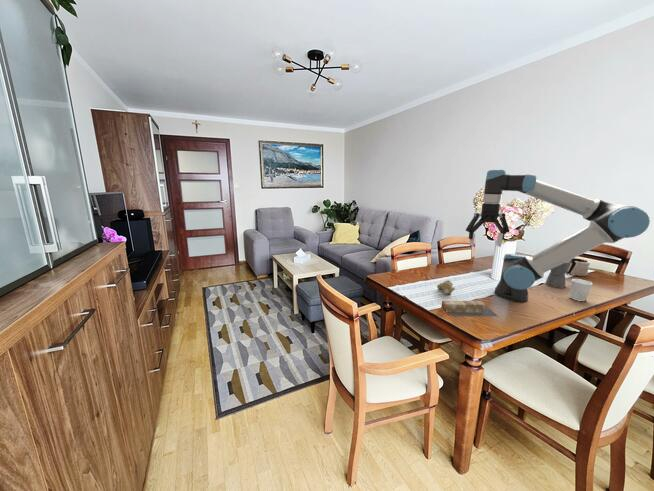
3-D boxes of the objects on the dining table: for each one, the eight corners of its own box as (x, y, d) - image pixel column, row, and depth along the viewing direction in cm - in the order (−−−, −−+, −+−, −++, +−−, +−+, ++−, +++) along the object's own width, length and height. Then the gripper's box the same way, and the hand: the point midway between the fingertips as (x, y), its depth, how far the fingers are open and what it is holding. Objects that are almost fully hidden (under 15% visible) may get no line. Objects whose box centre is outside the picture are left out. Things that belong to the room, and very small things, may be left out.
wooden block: (479, 300, 132) (442, 300, 132) (484, 304, 128) (445, 304, 128) (478, 308, 133) (441, 308, 133) (483, 312, 129) (444, 312, 129)
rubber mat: (485, 306, 136) (485, 305, 136) (498, 317, 126) (498, 316, 125) (443, 305, 137) (443, 304, 137) (452, 316, 126) (452, 315, 126)
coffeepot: (549, 287, 160) (555, 257, 155) (538, 281, 169) (543, 253, 165) (577, 288, 159) (584, 258, 155) (564, 282, 168) (570, 253, 164)
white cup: (573, 295, 150) (577, 277, 147) (591, 301, 142) (595, 283, 140) (564, 297, 147) (568, 279, 144) (581, 303, 140) (586, 285, 137)
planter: (567, 270, 190) (570, 256, 188) (588, 274, 182) (591, 260, 180) (563, 273, 184) (566, 259, 181) (585, 278, 175) (588, 263, 173)
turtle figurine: (450, 279, 155) (455, 281, 143) (454, 291, 154) (459, 294, 143) (435, 282, 157) (439, 284, 145) (439, 294, 156) (443, 297, 144)
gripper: (512, 202, 136) (505, 244, 141) (461, 202, 136) (456, 243, 141) (522, 203, 128) (515, 247, 134) (469, 203, 129) (463, 247, 134)
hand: (485, 245), depth 137 cm, fingers open, 13 cm apart
